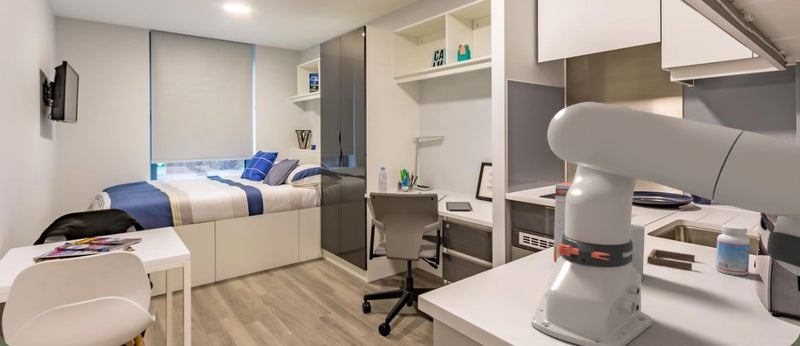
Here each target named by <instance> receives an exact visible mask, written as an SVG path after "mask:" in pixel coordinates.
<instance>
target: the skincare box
mask: <svg viewBox="0 0 800 346" xmlns="http://www.w3.org/2000/svg"><path fill="white" fill-rule="evenodd" d="M630 239H631V240H632V242H633V256H632V261H631V264H632V266H633V267H634V269H635V270H636V271H637V272H638V273H639V274H640V275H641V282H642V281H643V279H644V259H645V258H644V257H645V256H644V254H645V225H644V224H637V223H631V234H630Z"/></svg>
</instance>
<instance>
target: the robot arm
mask: <svg viewBox="0 0 800 346" xmlns="http://www.w3.org/2000/svg"><path fill="white" fill-rule="evenodd" d="M546 135H547V142H548V145H549V148H550V150H551V151H552V153H553V154H554V155H555V156H556V157H557V158H559V159H561V161H562V160H563V161H565V162H567V163H570V164H574V165H577V167H576V172H575V174H574V177H573V179H572V182H571V183H572V185H571V187H570V188H569V190H568V191H567V194H566V205H565V233H564V234H563V235H562V240H561V244H559V247H558V253H559V255H561V257H559V258H558V259H557V260H556V261H555V262H556V264H555V266H554V269H553V272H552V274H551V278H550V281H549V283H548V286H547V287H548V288H547V290H546V291H545V292H544V293H543V295H542V297H541V299H540V302H539V303H538V306H537V307H536V310H535V312H534V314H533V316H532V319H531V326H532V327H534V328H535V329H537V330H538V331H540V332H542V333H544V334H546V335H549V336H551V337H554V338H557V339H559V340H561V341H565V342H567V343H568V342H569V343H571V344H575V345H579V346H626V345H628V344H629V343H630V342H632V340H634V339H636V338H637V337H638V336H639V335H641V334H642V333H643V332H644V331H645V330H646V329H648V328H649V327H650V326H652V324H653V323H652V316H649V315H648V314H646V313H644V312H643V311H642V281H641V275H640V274H639V273H638V272H637V271H636V270H635V269H634V267H633V266H632V264H631V261H632V256H633V242H632V240H631V239H630V234H631V224H632V213H633V200H634V199H633V197H634V192H635V187H636V183H637V180H640V181H645V182H649V183H654V184H657V185H661V186H664V187H667V188H671V189H673V190H677V191H681V192H683V193H687V194H690V195H694V196H695V197H696V196H697V197H700V198H702V199H703V198H704V199H706V200H710V201H713V202H716V203H720V204H723V205H726V206H729V207H734V208H736V209H741V210H747V211H750V212H754V213H755V212H756V213H761V214H765V215H772V216H777V218H776V221H775V225H774V229H773V231H771V232H769V235H768V237H767V238H768V239H767V247H766V248H767V249H766V250H767V253H768V254H769V255H770V257H771V258H772V259H773V260H774V261H776V262H778V263H779V264H778V265H780V266H781V267H782V268H784V269H785V270H786V269H787V270H788V271H790V272H792V273H794V274H796V275H798V276H800V144H797V143H794V142H790V141H787V140H784V139H780V138H777V137H774V136H770V135H765V134H762V133H757V132H753V131H748V130H744V129H743V130H742V129H738V128H733V127H728V126H724V125H718V124H713V123H708V122H702V121H697V120H694V119H693V120H692V119H689V118H682V117H676V116H669V115H666V114H661V113H660V114H658V113H653V112H648V111H642V110H637V109H632V108H631V107H629V106H625V105H620V104H619V105H618V104H610V103H603V102H595V101H584V102H579V103H576V104H571V105H569V106H567V107H564V108H562V109H561V110H559V111H558V112H557V113H556V114H554V116H553V117H552V119H551V120H550V122H549V125H548V128H547V134H546ZM758 250H759V249H757V250H756V252H755V253H756V257H757V255H758ZM787 270H786V271H787Z"/></svg>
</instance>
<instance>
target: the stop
mask: <svg viewBox="0 0 800 346" xmlns="http://www.w3.org/2000/svg"><path fill="white" fill-rule="evenodd" d="M660 257H661V258H660ZM695 257H696V256H695V254H689V253H682V252H678V251H670V250H663V249H662V250H661V249H655V248H653V249H652V250H651V252H650V253H649V254H648V256H647V264H650V265H656V266H664V267H668V268H669V267H670V268H674V269H681V270H686V271H692V270H693V263H691V262H695ZM674 259H675V260H674ZM679 260H681V261H679ZM685 261H686V262H685Z"/></svg>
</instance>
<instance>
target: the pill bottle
mask: <svg viewBox="0 0 800 346" xmlns="http://www.w3.org/2000/svg"><path fill="white" fill-rule="evenodd" d="M747 228H748V227H746V226H742V225H735V224H722V225H721V229H720V230H721V232H722V233H721V234H719V235H718V236H717V239H716V253H715V255H716V256H715V270H716V271H718V272H720V273H723V274H726V275H731V276H746V275H748V274H749V267H750V266H749V265H750V264H749V262H750V249H751V241H750V238H749V237H747V236H746V235H747V233H748V232H747V231H748V229H747Z"/></svg>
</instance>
